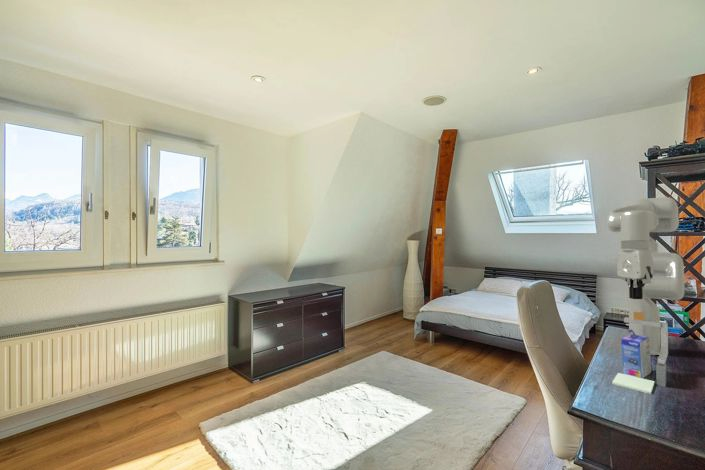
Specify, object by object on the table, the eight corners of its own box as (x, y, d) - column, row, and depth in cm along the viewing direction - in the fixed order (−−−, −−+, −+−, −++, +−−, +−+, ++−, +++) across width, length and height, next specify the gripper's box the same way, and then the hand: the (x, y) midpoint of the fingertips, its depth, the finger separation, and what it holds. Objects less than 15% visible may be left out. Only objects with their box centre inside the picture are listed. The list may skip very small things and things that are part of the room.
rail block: (657, 381, 104) (657, 362, 104) (666, 383, 102) (666, 364, 102) (656, 384, 101) (656, 365, 101) (665, 386, 99) (665, 367, 100)
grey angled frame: (625, 345, 120) (625, 310, 120) (668, 353, 111) (667, 315, 111) (618, 355, 109) (617, 316, 110) (664, 364, 101) (663, 322, 101)
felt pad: (618, 374, 109) (618, 372, 109) (654, 383, 102) (654, 381, 102) (612, 384, 101) (612, 382, 101) (650, 394, 95) (650, 392, 95)
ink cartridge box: (631, 367, 115) (630, 327, 115) (651, 372, 110) (650, 330, 110) (621, 373, 109) (620, 331, 110) (642, 379, 105) (641, 335, 105)
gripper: (607, 245, 119) (608, 295, 119) (642, 246, 104) (643, 303, 104) (628, 245, 119) (629, 295, 119) (666, 246, 104) (667, 303, 104)
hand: (635, 298), depth 111 cm, fingers closed
